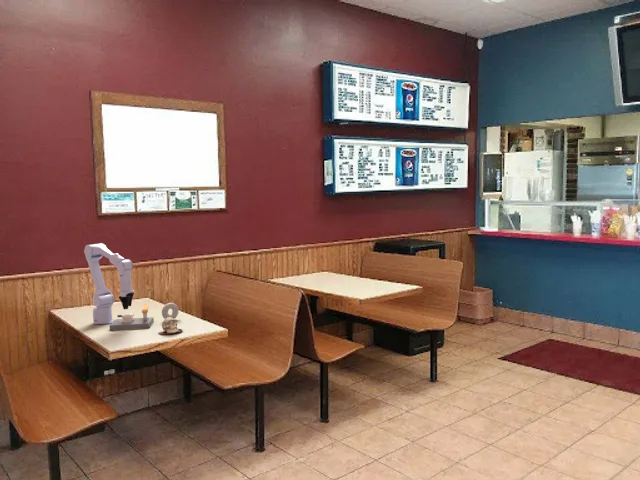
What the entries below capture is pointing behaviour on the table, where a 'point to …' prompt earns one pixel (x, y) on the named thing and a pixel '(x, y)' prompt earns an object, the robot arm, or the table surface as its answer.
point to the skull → (169, 326)
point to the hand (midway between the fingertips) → (127, 307)
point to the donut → (167, 307)
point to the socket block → (136, 324)
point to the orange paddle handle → (145, 308)
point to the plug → (127, 317)
